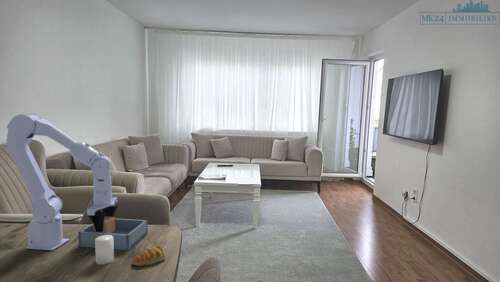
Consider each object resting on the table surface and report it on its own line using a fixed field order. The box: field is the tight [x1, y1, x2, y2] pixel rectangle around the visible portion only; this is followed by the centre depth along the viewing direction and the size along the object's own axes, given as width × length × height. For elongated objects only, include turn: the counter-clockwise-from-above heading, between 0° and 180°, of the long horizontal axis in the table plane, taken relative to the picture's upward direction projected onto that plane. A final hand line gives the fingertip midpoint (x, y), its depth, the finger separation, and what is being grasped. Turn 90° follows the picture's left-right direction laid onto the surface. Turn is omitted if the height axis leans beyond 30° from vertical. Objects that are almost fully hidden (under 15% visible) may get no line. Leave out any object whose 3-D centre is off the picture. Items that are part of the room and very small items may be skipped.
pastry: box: [132, 244, 166, 267], centre depth 93 cm, size 9×7×4 cm
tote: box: [77, 217, 149, 251], centre depth 107 cm, size 18×14×5 cm
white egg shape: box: [94, 235, 115, 265], centre depth 92 cm, size 5×5×7 cm
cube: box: [92, 216, 116, 233], centre depth 107 cm, size 5×5×5 cm
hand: (104, 228), depth 107 cm, fingers open, 5 cm apart
